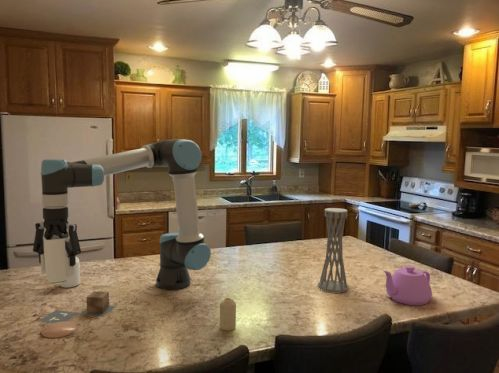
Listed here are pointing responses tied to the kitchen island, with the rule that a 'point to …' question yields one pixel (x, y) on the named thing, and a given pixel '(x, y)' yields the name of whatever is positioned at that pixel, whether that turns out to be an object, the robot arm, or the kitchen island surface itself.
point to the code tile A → (58, 316)
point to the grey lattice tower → (334, 252)
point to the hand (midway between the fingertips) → (57, 274)
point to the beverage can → (73, 277)
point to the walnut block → (97, 302)
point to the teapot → (409, 286)
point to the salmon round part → (59, 329)
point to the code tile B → (98, 313)
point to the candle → (227, 314)
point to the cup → (55, 259)
